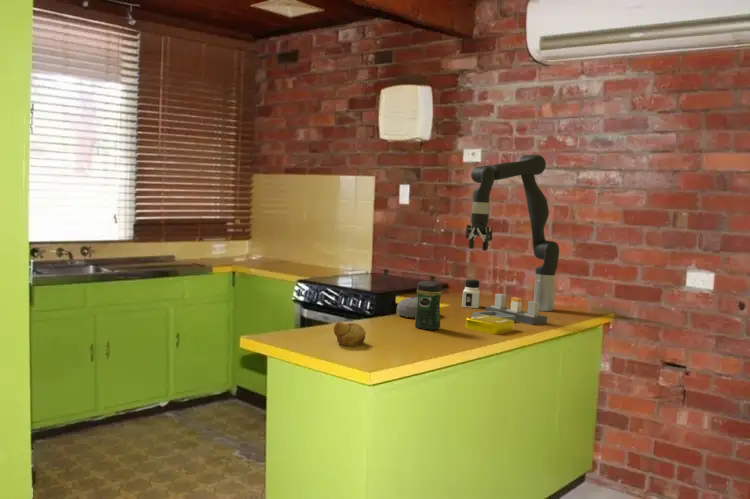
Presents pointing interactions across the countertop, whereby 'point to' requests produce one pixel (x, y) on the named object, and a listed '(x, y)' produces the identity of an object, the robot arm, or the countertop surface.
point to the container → (471, 294)
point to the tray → (495, 315)
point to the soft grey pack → (408, 307)
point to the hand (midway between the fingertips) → (477, 249)
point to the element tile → (490, 324)
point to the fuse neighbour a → (500, 300)
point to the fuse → (533, 308)
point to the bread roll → (349, 334)
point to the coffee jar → (428, 305)
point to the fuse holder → (520, 315)
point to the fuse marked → (516, 304)
